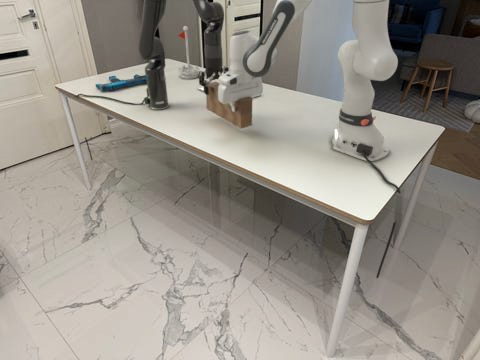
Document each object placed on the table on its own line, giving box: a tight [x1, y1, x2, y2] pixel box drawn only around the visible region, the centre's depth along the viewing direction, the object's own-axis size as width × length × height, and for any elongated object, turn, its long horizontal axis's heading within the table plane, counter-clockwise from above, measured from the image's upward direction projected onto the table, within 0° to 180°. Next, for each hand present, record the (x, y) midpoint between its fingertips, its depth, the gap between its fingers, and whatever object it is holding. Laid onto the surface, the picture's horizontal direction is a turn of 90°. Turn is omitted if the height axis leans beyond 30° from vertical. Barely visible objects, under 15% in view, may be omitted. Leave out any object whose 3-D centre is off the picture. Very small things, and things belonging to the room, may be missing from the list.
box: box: [205, 81, 253, 130], centre depth 148 cm, size 27×6×12 cm, turn 36°
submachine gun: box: [94, 74, 147, 92], centre depth 207 cm, size 34×4×25 cm
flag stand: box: [177, 25, 200, 80], centre depth 211 cm, size 13×13×30 cm
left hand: (214, 92), depth 153 cm, fingers open, 8 cm apart
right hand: (241, 109), depth 140 cm, fingers closed on box, 6 cm apart
